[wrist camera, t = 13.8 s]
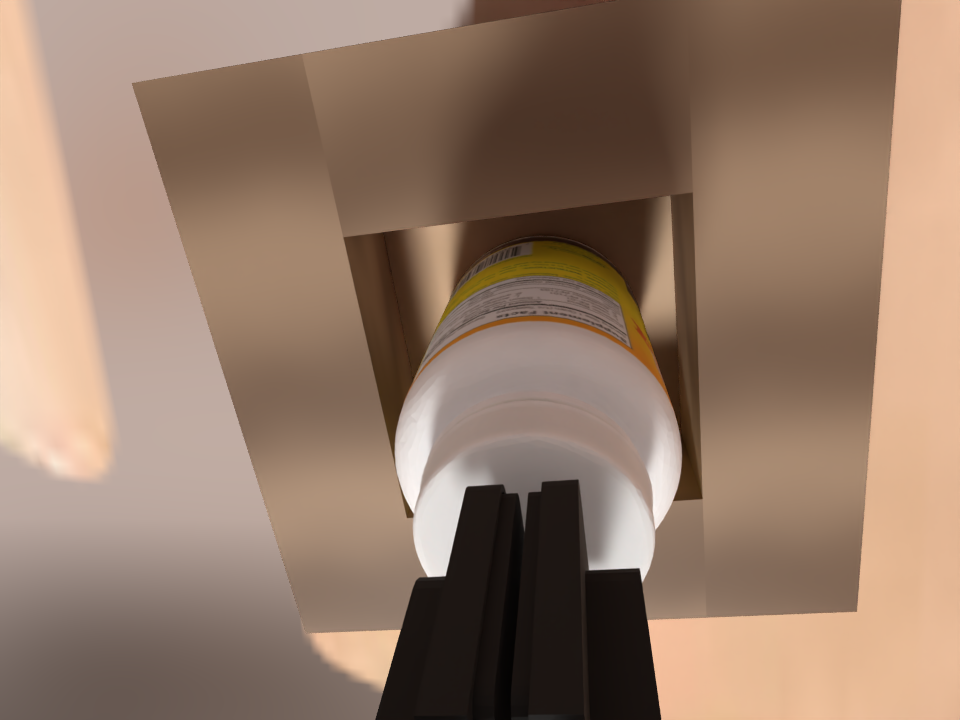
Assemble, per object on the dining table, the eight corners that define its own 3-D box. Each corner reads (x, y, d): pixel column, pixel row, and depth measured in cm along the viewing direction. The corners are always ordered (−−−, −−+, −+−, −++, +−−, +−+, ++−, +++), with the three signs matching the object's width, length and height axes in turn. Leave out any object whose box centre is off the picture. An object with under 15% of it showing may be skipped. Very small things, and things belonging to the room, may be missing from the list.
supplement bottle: (599, 429, 22) (630, 709, 12) (428, 375, 22) (330, 617, 12) (670, 263, 20) (772, 454, 10) (479, 202, 19) (406, 339, 10)
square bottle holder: (204, 78, 19) (132, 83, 16) (837, -29, 16) (904, -49, 13) (337, 559, 25) (306, 633, 22) (814, 532, 22) (856, 611, 19)
